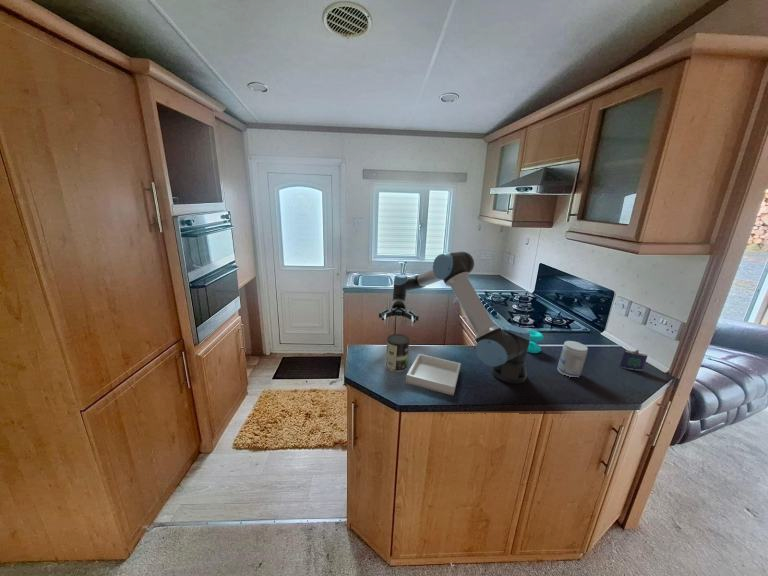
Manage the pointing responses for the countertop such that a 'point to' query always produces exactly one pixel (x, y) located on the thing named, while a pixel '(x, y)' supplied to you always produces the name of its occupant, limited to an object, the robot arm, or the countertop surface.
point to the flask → (633, 360)
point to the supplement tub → (572, 359)
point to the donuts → (535, 337)
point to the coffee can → (397, 352)
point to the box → (434, 374)
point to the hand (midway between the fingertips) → (398, 322)
